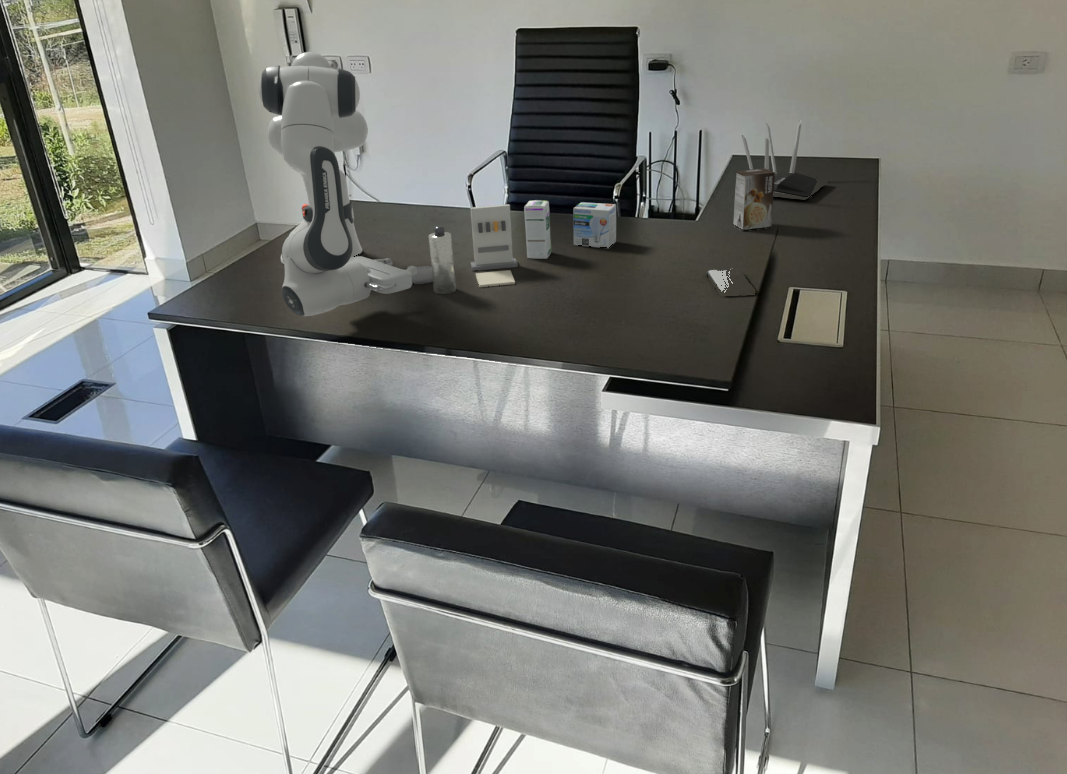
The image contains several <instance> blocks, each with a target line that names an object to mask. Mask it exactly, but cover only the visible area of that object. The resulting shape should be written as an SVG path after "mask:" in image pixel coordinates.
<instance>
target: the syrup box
mask: <svg viewBox="0 0 1067 774" xmlns="http://www.w3.org/2000/svg"><path fill="white" fill-rule="evenodd" d="M523 208H524V209H523V211H524V213H523V215H524V225H525V227H524V228H525V242H526V257H527V259H534V260H535V259H537V260H540V259H541V260H542V259H545V260H547V259H548V258H549V257H550V255H551V253H552V237H551V236H552V235H551V216H550V215H551V214H550V202H549V200H541V199H539V200H538V199H535V200H529V201H528V202H527V203H526V204H525V205H524V207H523Z"/></svg>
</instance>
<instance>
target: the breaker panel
mask: <svg viewBox="0 0 1067 774" xmlns="http://www.w3.org/2000/svg"><path fill="white" fill-rule="evenodd" d="M470 220H471V229H472V230H471V231H472V232H471V233H472V245H473V256H474V257H473V258H474V259H473V260H474V261H471V262H470V268H471V271H472V272H476V271H475V270H478V271H485V270H497V269H507V268H519V264H518V261H517V259H516V257H513V240H512V222H511V220H512V219H511V205H510V204H497V205H487V206H486V205H485V206H476V207H475V206H473V207H470Z"/></svg>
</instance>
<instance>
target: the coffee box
mask: <svg viewBox="0 0 1067 774" xmlns="http://www.w3.org/2000/svg"><path fill="white" fill-rule="evenodd" d="M735 172H736V174H735V189H734V190H735V191H734V192H735V193H734V206H733V207H734V208H733V210H734V211H733V224H734V225H736V226H738V227H739V228H741V229H752V228H762V227H769V226H771V227H772V219H773V207H774V198H773V195H774V181H775V172H773V170H771V169H769V170H768V169H765V167H764V168H756V169H755V168H753V169H752V170H750V169H746V170H743V169H742V170H737V171H735Z"/></svg>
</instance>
